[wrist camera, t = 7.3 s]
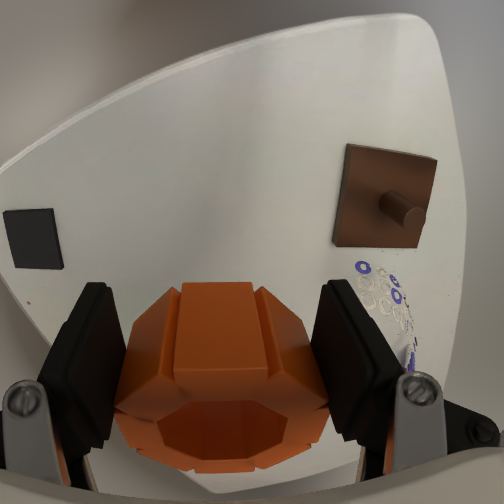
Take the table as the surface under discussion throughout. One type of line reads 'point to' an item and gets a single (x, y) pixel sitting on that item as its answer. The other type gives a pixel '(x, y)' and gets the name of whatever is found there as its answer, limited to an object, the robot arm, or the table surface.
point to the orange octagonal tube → (220, 381)
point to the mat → (33, 239)
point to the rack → (383, 198)
